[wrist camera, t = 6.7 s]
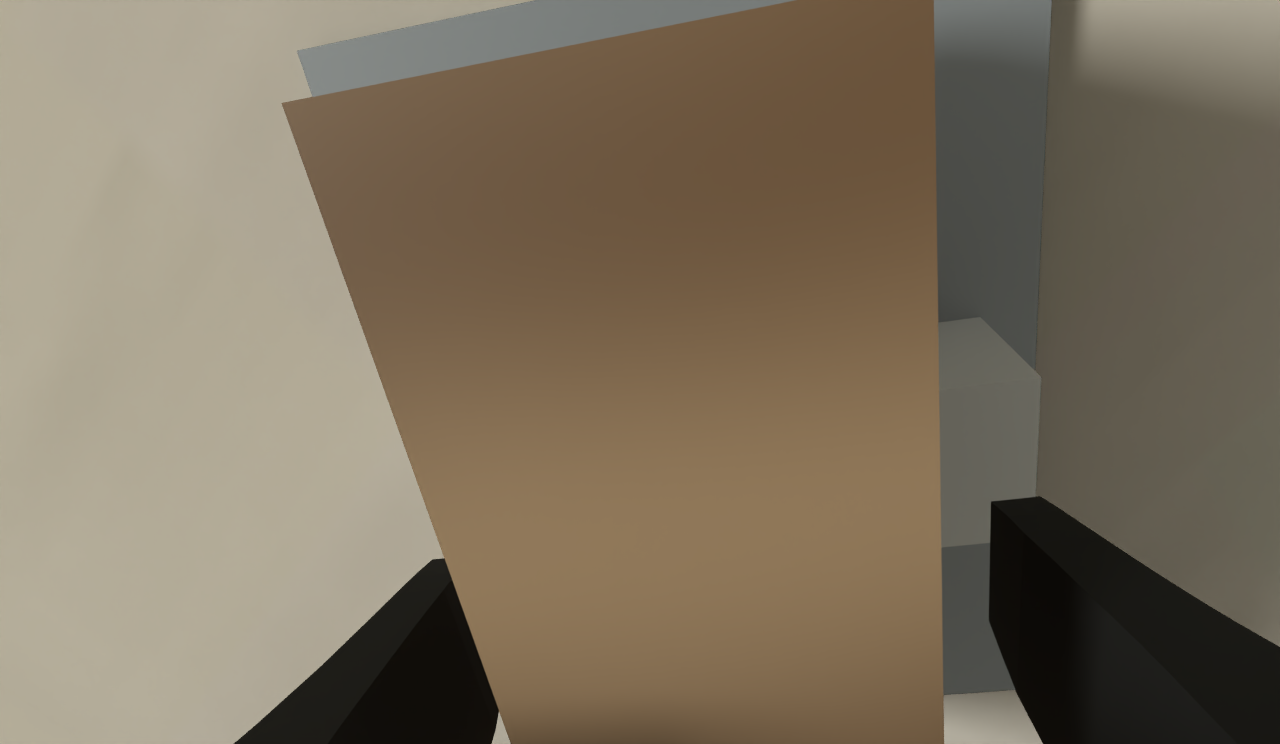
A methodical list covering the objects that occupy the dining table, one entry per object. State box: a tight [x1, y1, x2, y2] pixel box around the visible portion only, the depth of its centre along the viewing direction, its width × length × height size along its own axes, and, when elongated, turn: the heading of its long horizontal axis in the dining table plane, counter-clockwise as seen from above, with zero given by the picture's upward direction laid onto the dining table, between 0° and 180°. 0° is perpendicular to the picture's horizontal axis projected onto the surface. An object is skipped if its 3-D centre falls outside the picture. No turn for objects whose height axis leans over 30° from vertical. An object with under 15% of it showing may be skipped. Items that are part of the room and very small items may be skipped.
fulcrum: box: [297, 0, 1052, 695], centre depth 14 cm, size 16×12×3 cm
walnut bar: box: [282, 0, 944, 744], centre depth 9 cm, size 14×4×6 cm, turn 10°
